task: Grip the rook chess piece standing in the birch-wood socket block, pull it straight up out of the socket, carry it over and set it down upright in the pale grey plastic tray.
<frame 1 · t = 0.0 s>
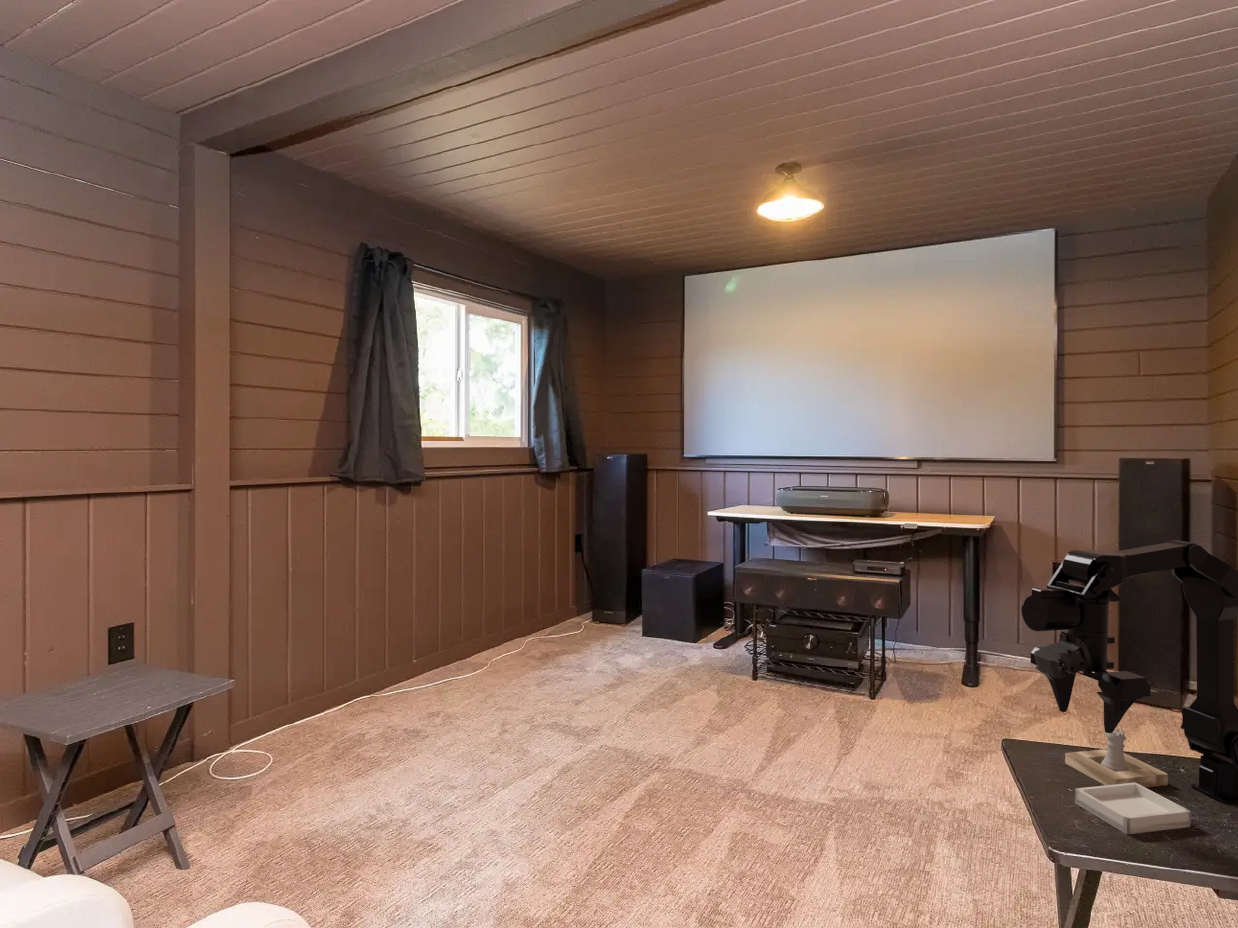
hand: (1085, 721, 121), 15 cm above the table, tool pointing down, fingers open, 9 cm apart
rook chess piece: (1114, 774, 135), resting in socket block
tray: (1130, 814, 120), on the table
socket block: (1114, 773, 135), on the table
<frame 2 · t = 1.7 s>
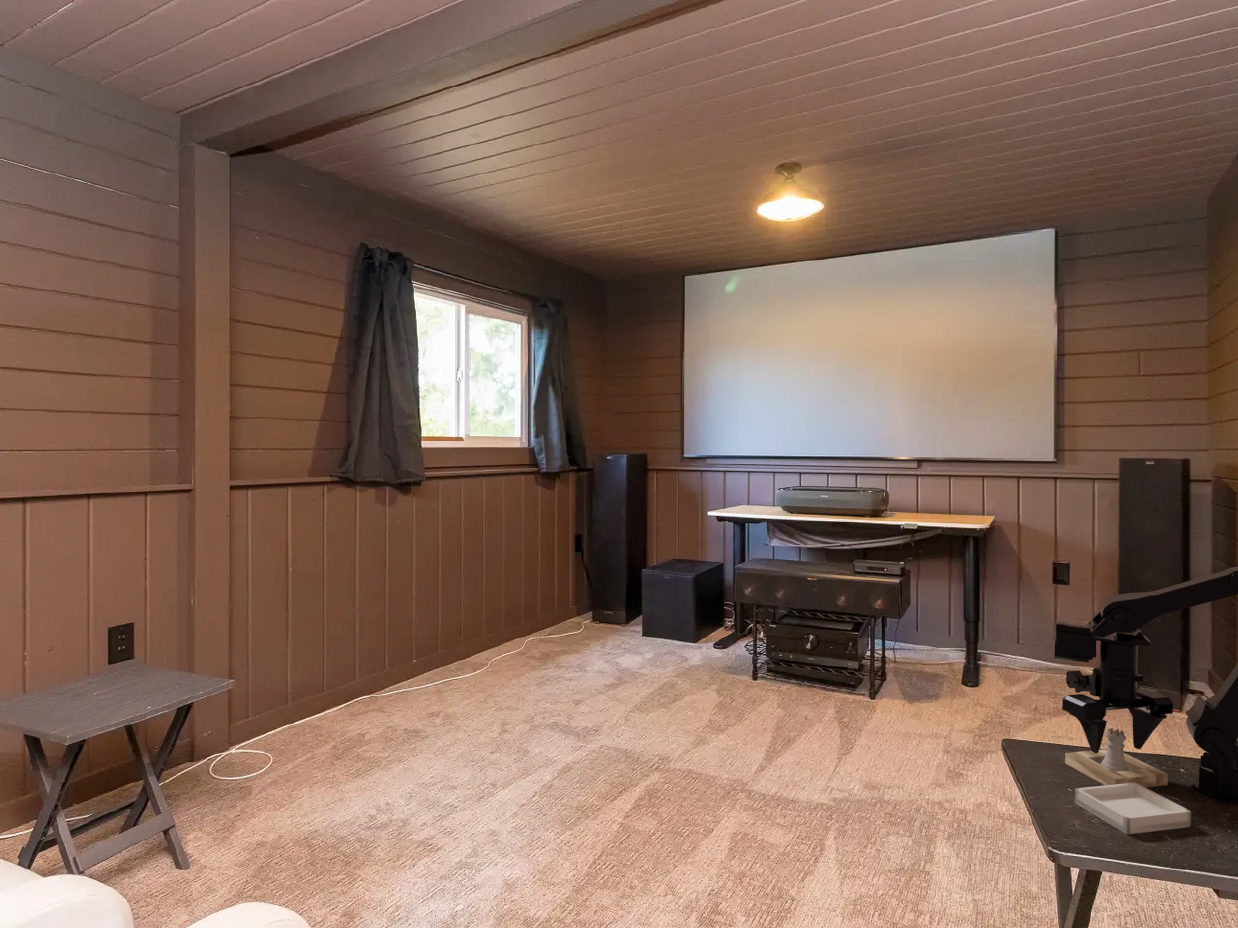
hand: (1116, 750, 135), 4 cm above the table, tool pointing down, fingers open, 9 cm apart
nothing on the table moved.
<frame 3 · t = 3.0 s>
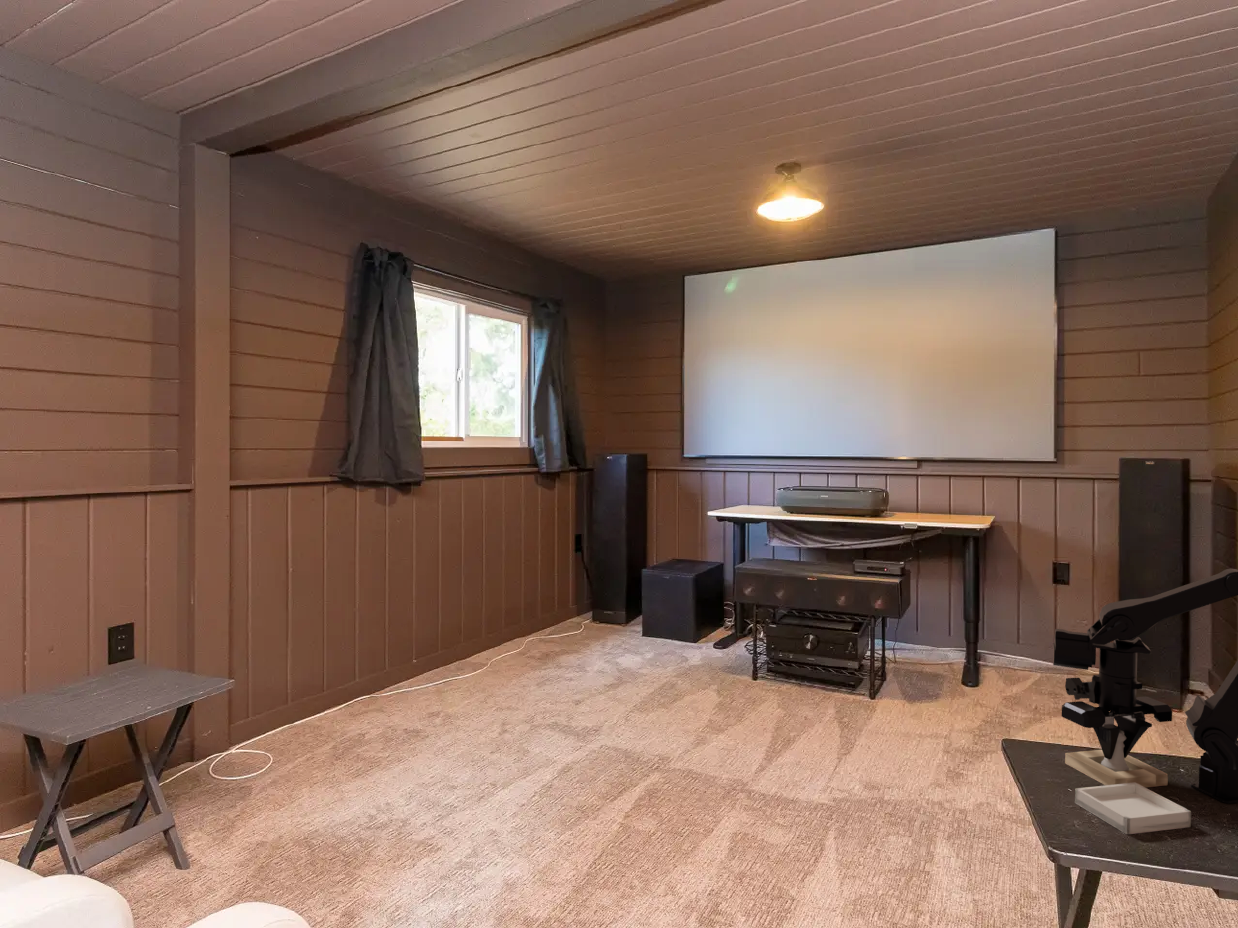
hand: (1115, 757, 135), 3 cm above the table, tool pointing down, fingers closed on rook chess piece, 3 cm apart
rook chess piece: (1114, 774, 135), resting in socket block, touching gripper
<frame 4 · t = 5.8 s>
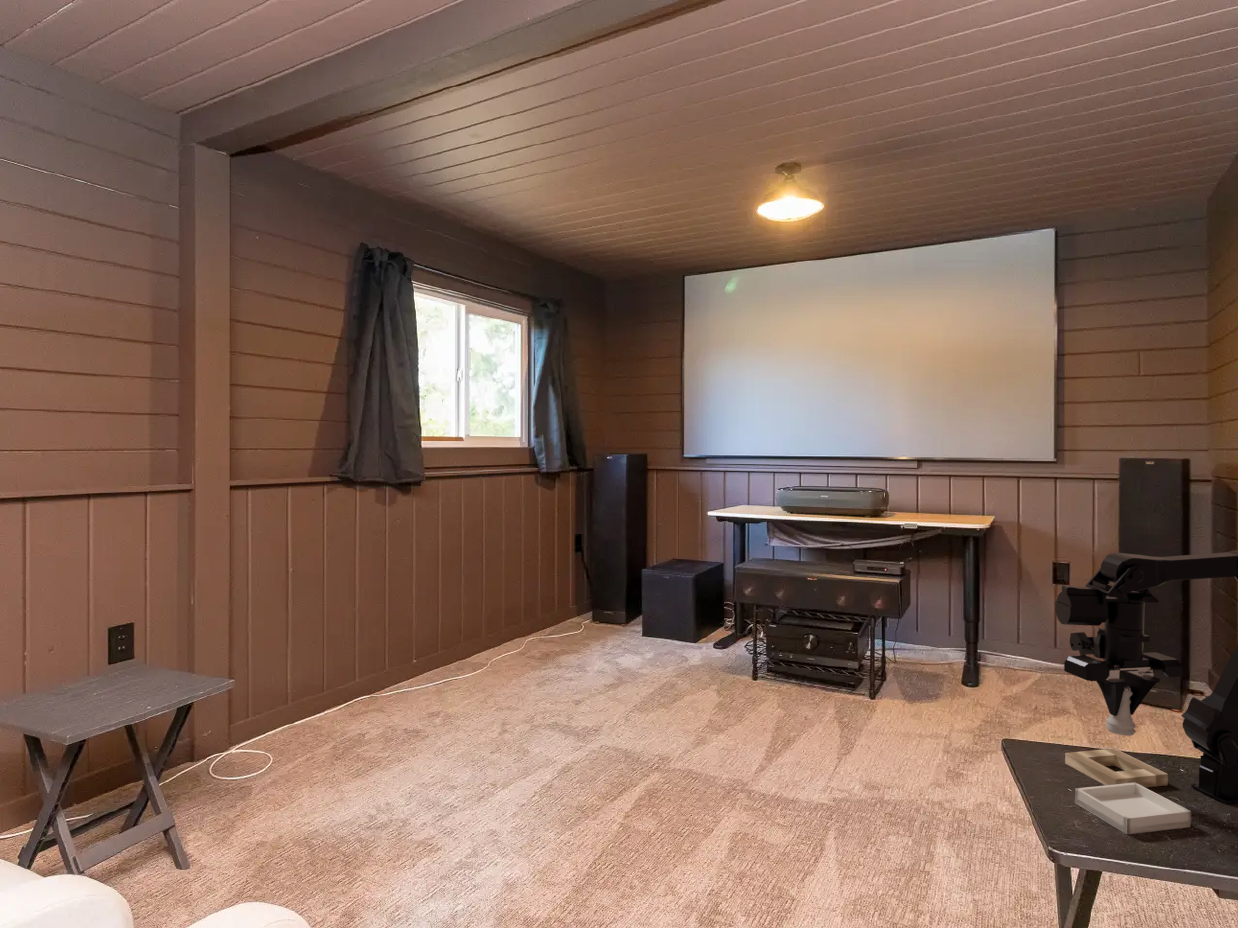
hand: (1121, 714, 129), 13 cm above the table, tool pointing down, fingers closed on rook chess piece, 3 cm apart
rook chess piece: (1120, 732, 129), point 10 cm above the table, touching gripper
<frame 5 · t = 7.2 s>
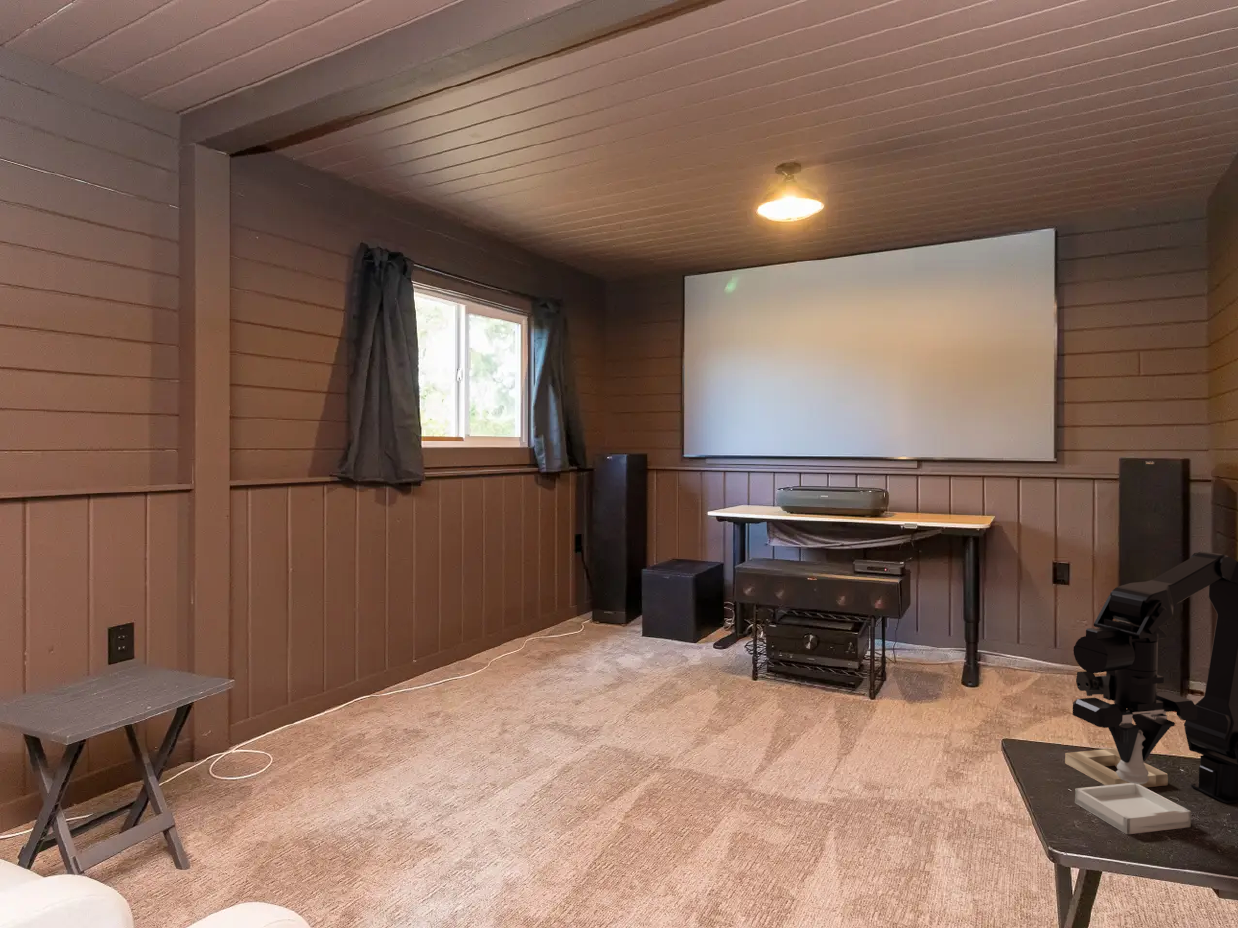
hand: (1133, 760, 120), 9 cm above the table, tool pointing down, fingers closed on rook chess piece, 3 cm apart
rook chess piece: (1132, 779, 120), point 6 cm above the table, touching gripper
when the fingers open (5 cm above the table, at t = 8.4 s): rook chess piece drops 1 cm, resting on tray.
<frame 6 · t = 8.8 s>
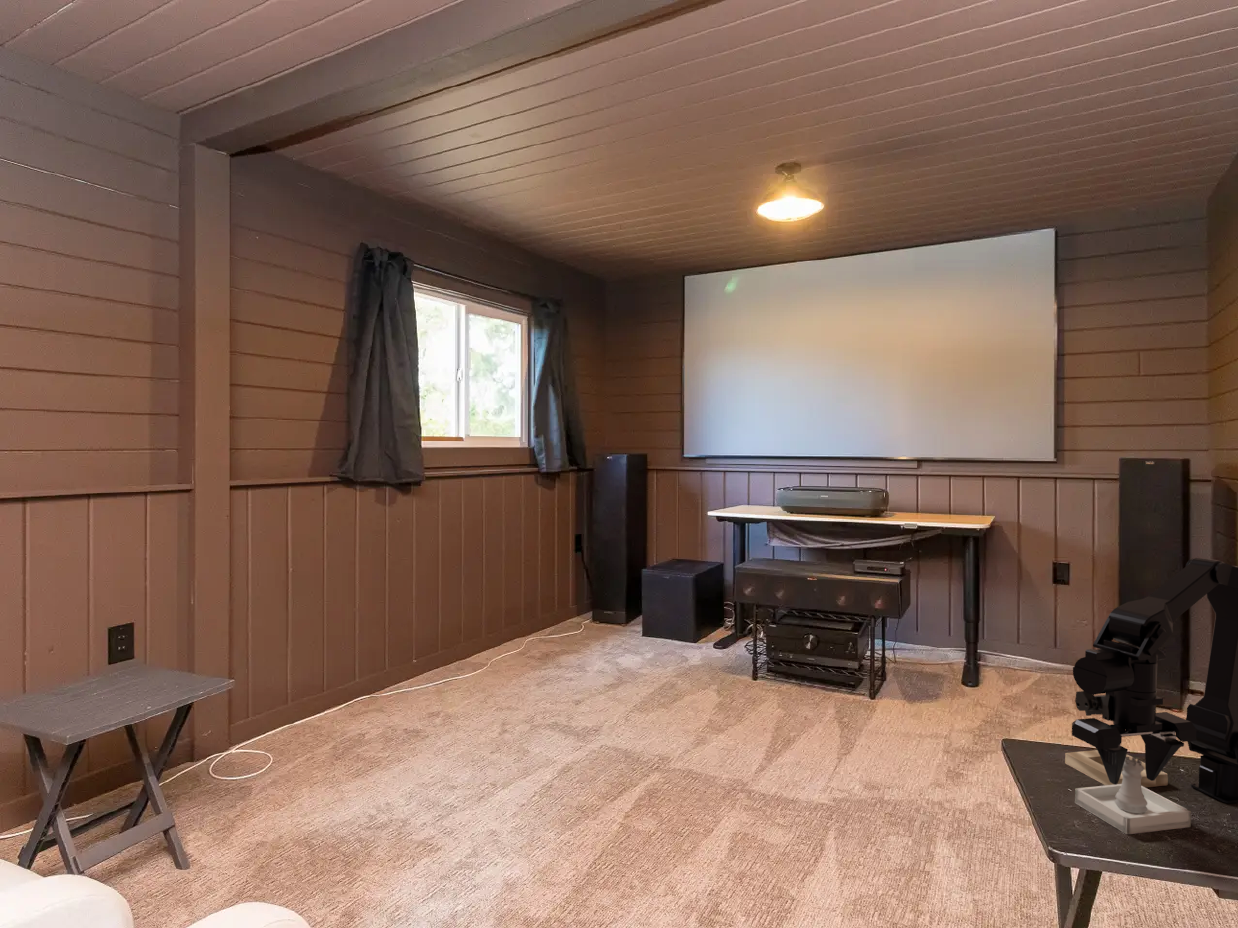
hand: (1131, 781, 120), 5 cm above the table, tool pointing down, fingers open, 7 cm apart
rook chess piece: (1130, 809, 120), point 1 cm above the table, touching tray
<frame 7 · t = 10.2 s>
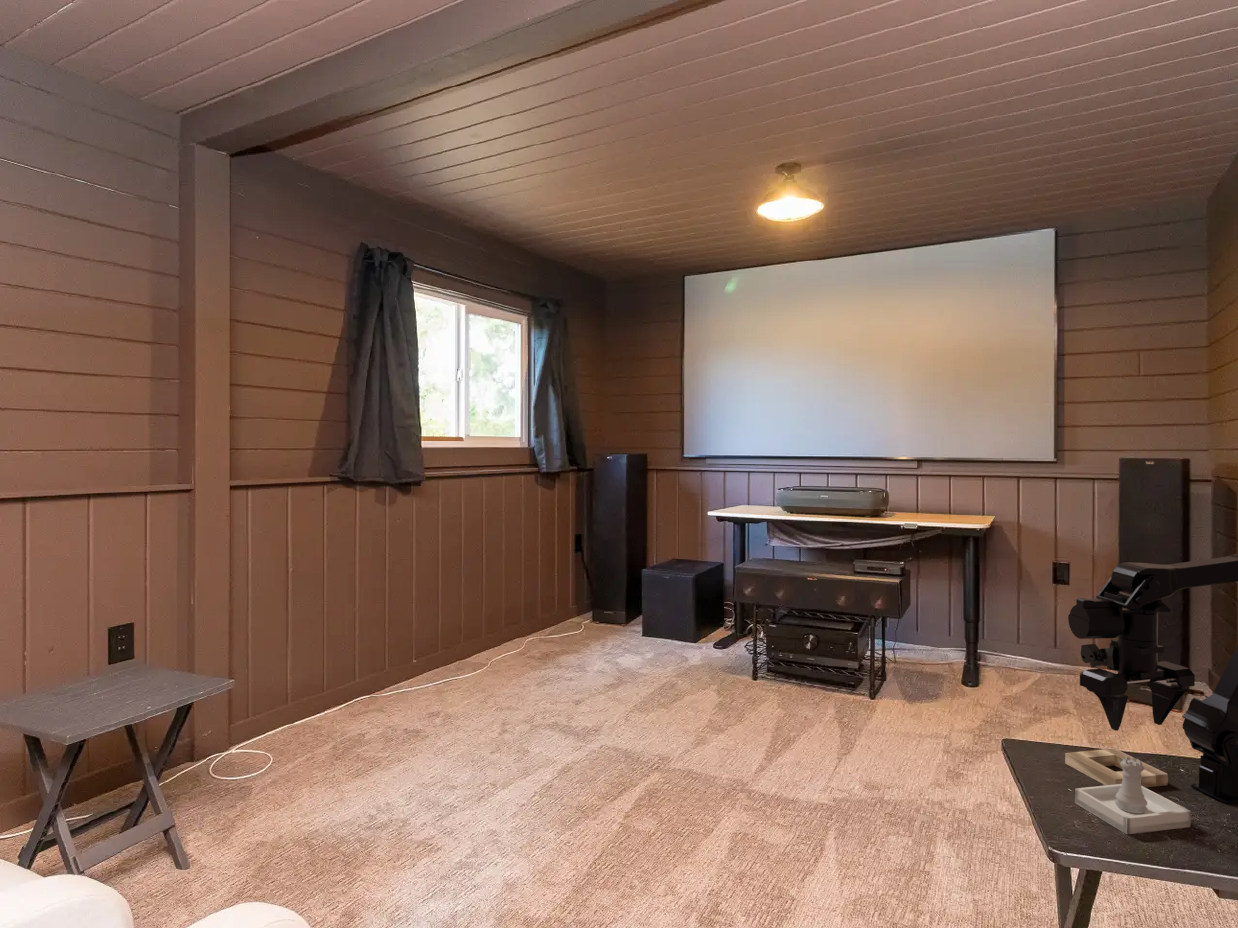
hand: (1136, 726, 127), 12 cm above the table, tool pointing down, fingers open, 9 cm apart
nothing on the table moved.
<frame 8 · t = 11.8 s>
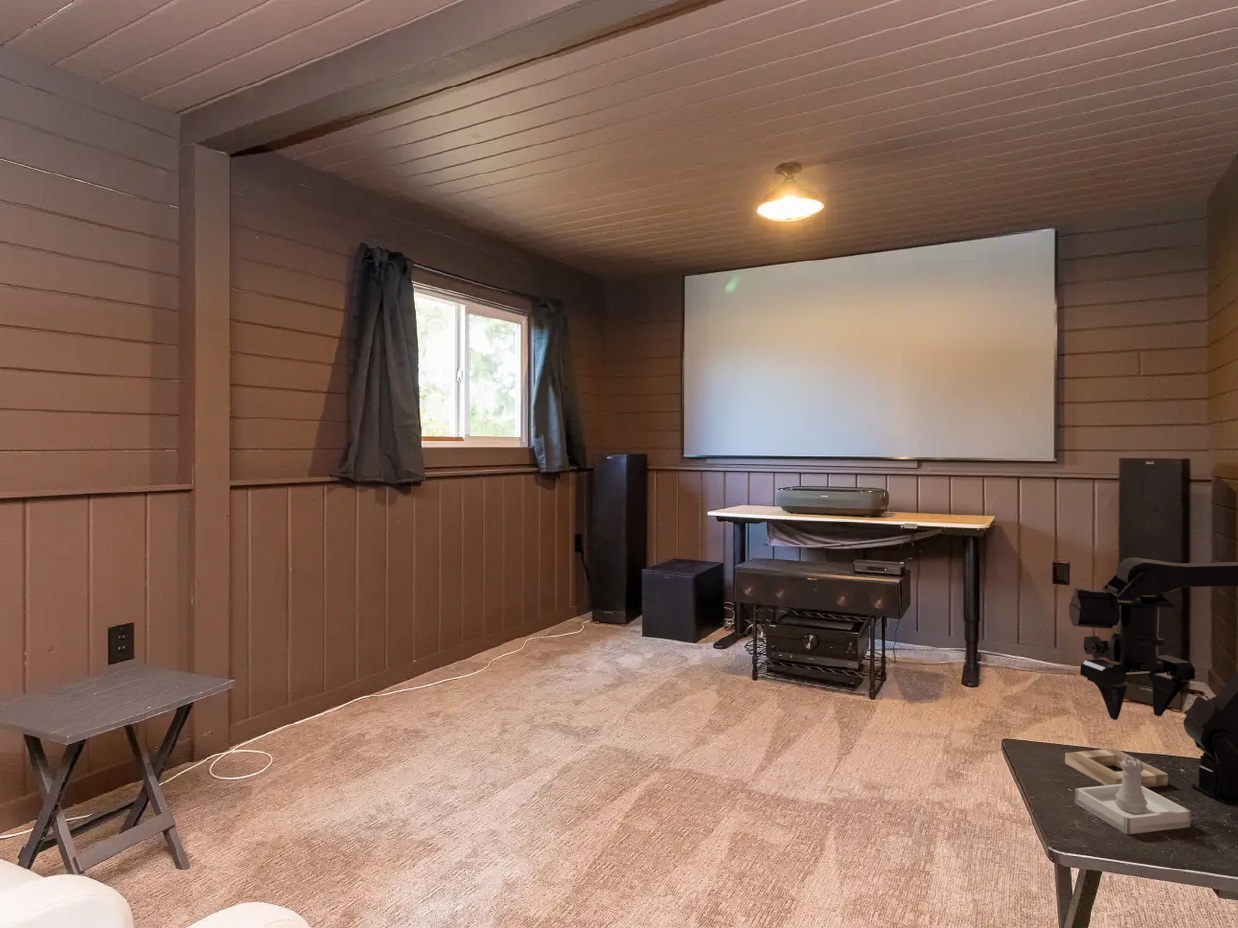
hand: (1135, 717, 131), 12 cm above the table, tool pointing down, fingers open, 9 cm apart
nothing on the table moved.
at the end: rook chess piece inside the target area on the tray (0.1 cm from its centre), point 0.8 cm above the tray's base; rook chess piece tilted 0°; the gripper is holding nothing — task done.
